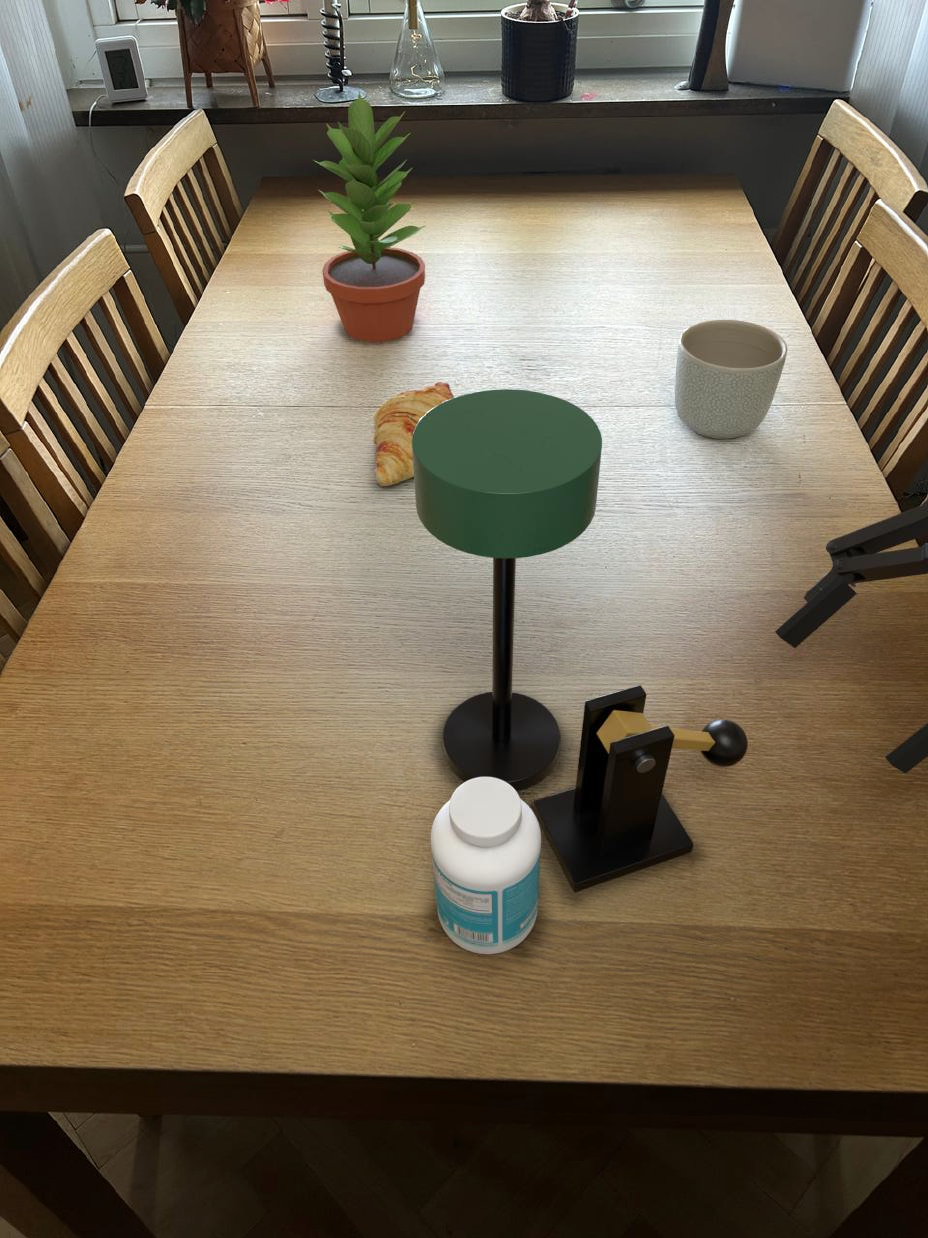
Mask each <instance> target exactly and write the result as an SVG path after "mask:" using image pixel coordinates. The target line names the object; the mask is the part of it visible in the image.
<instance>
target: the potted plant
mask: <svg viewBox="0 0 928 1238" xmlns="http://www.w3.org/2000/svg"><path fill="white" fill-rule="evenodd" d="M373 112H374V111H373V109H372V105H371V104H370V102H369V101H367V100H365V99H363V97H362V95H361V91H358V96H357V99H355V100H353V101H352V102H351V103H350V104H349V106H348V112H347V115H348V116H347V118H348V119H347V120H348V121H347V122H348V127H345V126H344V125H342V123H340V121H337V124H338V128H332V127H331V126H330V125H329V124H328V123H327V122H326V123H325V124H326V126H327V129H328V131H327V136H328V138H329V139H330V141H331V142H332V143H333V145H334V146H335V147H336V149H337V150H338V152H339V153H340V155H341V157H342V159H341V160H340V161H338V163H337V162H334V161H330V160H322V161H320V162H319V161H316V160H315V159H312V161H313V162H315V163H317V164H319V165H320V166H321V167H323V168H325V169H327V170H328V171H330V172H331V173H333V174H335V175H337V176H339V177H340V178H342V179H344V182H345V184H344V185H345V187H344V189H345V192H346V195H347V196H348V198H347V197H346V196H344V195H342V194H340V193H338V192H335V191H327V192H323V191H321V190H320V189H318V192H320V194H322V195H323V196H324V197H325V198H326V199H327V201H330V202H331V203H332V204H334V205H335V206H336V208H339V209H340V210H341V211H343V212H344V213H343V212H340V213H333V212H331V211H330V210H327V212H328V213H329V214H330V220H331V221H332V222H333V223H334V224H336V225H337V226H338V227H339V228H340V229H341V230H343V231H344V232H345V233H346V234H347V235H349V237H350V240H351V242H352V246H353V247H354V248H352V247H349V246H346V245H339V246H338V248H339V249H340V250H341V249H342V250H345V251H343V252H340V253H339V254H336V255H334V256H332V257H330V258H329V259H328V260H327V261H326V262H324V265H323V267H322V270H321V271H322V281H323V285H324V288H325V290H326V292H328V293H329V294H330V295H331V297H332V300H333V302H334V303H333V304H334V306H335V308H336V310H337V313H338V317H339V318H340V321H341V323H342V326H343V328H344V331H345V334H346V335H348V336H349V337H350V338H352V339H355V340H357V341H359V342H367V343H384V342H385V343H386V342H392V341H395V340H398V339H401V338H403V337H404V336H406V335H409V334H410V332H411V331H412V329H413V327H414V321H415V316H416V311H417V306H418V301H419V297H420V293H421V288H422V287H423V286H424V285H425V284H426V283H425V282H426V263H425V262H424V260H423V259H422V257H421V256H419V255H417V254H416V253H414V252H413V251H409V250H406V249H403V248H399V247H398V248H397V247H392V246H395V245H397V244H399V243H400V242H402V241H404V240H406V239H408V238H410V237H413V236H415V235H416V234H417V233H419V232H420V231H421V230H422V229H423V228H425V227H427V224H426V225H422V226H420V227H418V226H416V225H407V226H403V227H400V228H399V229H396V230H394V231H392V232H390V233H388V234H386V235H384V234H385V233H386V232H388V231H389V230H391V228H392V227H393V226H394V225H395V224H397V223H398V222H399V221H400V220H401V219H403V218H404V216H406V215H407V213H409V212H410V211H411V210H412V206H413V205H414V203H415V202H416V199H415V200H413V201H412V202H410V203H396V204H395V202H396V200H395V201H393V202H392V201H391V199H392V198H393V196H394V195H395V194H396V192H397V191H398V190H399V188H400V187H401V186H402V181H403V180H404V179H405V178H406V177H407V175H408V174H409V173H410V172H411V171H412V170H413V167H410V168H409V169H408V170H406V171H402V170H401V171H400V169H401V168H402V167H403V166H404V165H405V163H406V160H404V161H403V162H402V163H401V164H400V165H399V166H397V167H396V168H395V169H393V170H392V171H391V172H390V173H389V174H388V175H387V176H386V177H385V178H384V179H383V180H381V182H379V184H377V183H378V175H377V169H379V168H380V167H381V165H383V163H384V162H385V161H386V160H387V159H388V158H389V157H390V156H391V155H392V154H393V153H394V152H395V151H396V150H397V149H398V148H399V147H400V145H401V144H402V143H404V141H405V140H406V139H407V138H408V136H409V135H410V134H411V132H409V133H408V134H407V135H405V136H404V137H403V136H394V137H392V138H391V139H390V140H388V141H386V139H387V138H388V137H389V135H390V134H391V133H392V131H393V130H394V128H395V127H396V125H397V124H398V122H400V120H401V119H402V117H403V116H404V114H405V113H406V111H403V112H402V114H401V115H400V116H397V115H396V116H392V117H389V118H388V119H386V121H385V122H384V123H383V124H381V127H380V128H379V129H378V130H377V131H376V133H375V122H374V121H375V119H374V113H373ZM385 141H386V143H384V142H385ZM383 144H384V145H383ZM394 204H395V205H394ZM383 235H384V237H383ZM381 237H382V238H381ZM379 238H381V239H379Z"/></svg>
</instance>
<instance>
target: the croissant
mask: <svg viewBox="0 0 928 1238" xmlns="http://www.w3.org/2000/svg"><path fill="white" fill-rule="evenodd" d="M452 398H455V395H454V394H453V392H452V390H451V385H450V384H449V382H442V381H437V382H436V383H435V384H434V385H430V386H426V387H424V388H423V389H413V390H408V391H404V392H400V393H398V394H396V395H394V396H392V397H390V398H389V399H387V400H386V401H385V402H384V403H382V404H381V406H380V407H379V408H378V409H377V410H376V412H375V413H374V415H373V429H374V436H373V444H374V445H375V446H376V452H375V454H374V461H375V463H376V468H375V470H374V474H375V481H376V482H377V483H378V485H379V486H382V487H388V486H393V485H397V484H399V483H401V482H403V481H407V480H410V479H412V478H414V469H413V454H412V436H413V432H414V429H415V427H416V425H417V424H418V422H419V421H420V420H421V418H422V417H423V416H424V415H425V414H426V413H427V412H429V411H430V410H431V409H433V408H434V407H436V406H437V405H439V404H441V403H443V402H445V401H447V400H450V399H452Z"/></svg>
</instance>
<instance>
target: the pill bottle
mask: <svg viewBox="0 0 928 1238" xmlns="http://www.w3.org/2000/svg"><path fill="white" fill-rule="evenodd" d="M430 851H431V860H432V871H433V881H434V890H435V902H436V910H437V916H438V921H439V923H440V925H441V927H442V929H443V931H444V933H445V934H446V936H447V937H448V938H449V939H450V940H451V941H452V942H453V943H454V944H456V945H457V946H458V947H460V948H462V949H464V950H466V951H467V952H468V951H469V952H471V953H474V954H478V955H495V954H501V953H504V952H507V951H509V950H512V949H513V948H515V947H517V946H518V945H519V944H521V943H522V942H523V941H524V940H525V939H526V938H527V937H528V935H529V934H530V933H531V931H532V930H533V928H534V925H535V923H536V920H537V917H538V909H539V893H540V891H539V890H540V872H541V871H540V870H541V869H540V868H541V851H542V832H541V827H540V822H539V820H538V818H537V816H536V814H535V812H534V810H533V809H532V808H530V806H529V805H528V804H527V803H526V802H525V801H524V800H522V799H521V798H520V795H519V793H518V791H517V792H516V790H515V789H514V788H513V787H512V786H511V785H509V784H508V783H506V782H505V781H503V780H500V779H497V778H493V777H477V778H474V779H470V780H468V781H466V782H464V781H463V783H462V784H461V783H460V785H459V786H458V787H457V788H456V789H455V790H454V792H453V793H452V795H451V797H450V799H449V800H448V801H447V802H445V804H444V805H443V806H442V807H441V808H440V810H439V811H438V813H437V814H436V816H435V818H434V820H433V823H432V826H431V830H430Z"/></svg>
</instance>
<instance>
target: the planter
mask: <svg viewBox="0 0 928 1238" xmlns="http://www.w3.org/2000/svg"><path fill="white" fill-rule="evenodd" d="M676 354H677V355H676V363H675V364H676V365H675V379H674V407H675V411H676V413H677V415H678V417H679V419H680V421H681V422H682V423H683V424H684V425H685V426H686V427H687V428H689V429H690V430H691V431H693V432H695V433H696V434H699V435H701V436H704V437H707V438H712V439H720V440H729V439H734V438H739V437H741V436H744V435H747V434H749V433H751V432H752V431H754V430H756V429H757V428H758V427H759V426H760V425H761V424H762V423H763V422H764V420H765V418H766V416H767V415H768V413H769V410H770V408H771V406H772V404H773V403H772V402H773V401H774V397H775V395H776V391H777V389H778V386H779V382H780V381H781V376H782V373H783V370H784V367H785V364H786V363H785V362H786V359H787V354H788V345H787V342H786V341H785V340H784V339H783V337H782V336H780V335H779V334H778V333H776V332H775V331H773V330H772V329H770V328H767V327H765V326H763V325H760V324H756V323H753V322H749V321H744V320H737V319H712V320H706V321H702V322H698V323H695V324H692V325H691V326H689V327H687V328H686V329H685V330H684V331H683V332H682V333H681V335H680V336H679V340H678V347H677V353H676Z"/></svg>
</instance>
